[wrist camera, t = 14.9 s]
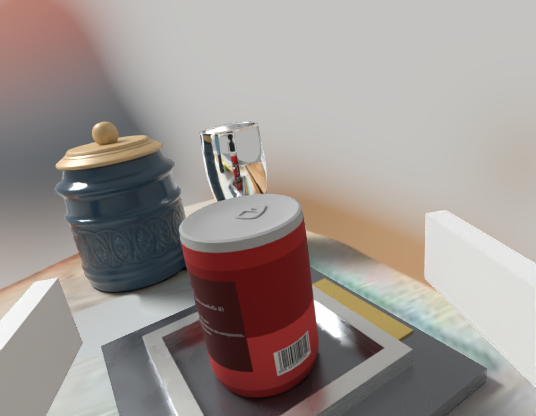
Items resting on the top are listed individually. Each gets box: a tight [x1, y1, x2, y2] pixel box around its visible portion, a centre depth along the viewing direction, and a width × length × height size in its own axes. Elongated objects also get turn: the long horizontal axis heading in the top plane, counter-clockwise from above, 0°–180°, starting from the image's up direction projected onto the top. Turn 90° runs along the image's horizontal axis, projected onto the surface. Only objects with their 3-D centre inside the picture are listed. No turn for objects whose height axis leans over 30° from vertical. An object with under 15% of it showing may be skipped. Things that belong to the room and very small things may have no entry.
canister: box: [55, 122, 186, 292], centre depth 43 cm, size 13×13×18 cm
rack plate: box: [101, 267, 487, 416], centre depth 27 cm, size 20×20×2 cm
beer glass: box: [200, 122, 267, 202], centre depth 44 cm, size 7×7×15 cm
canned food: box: [179, 194, 319, 397], centre depth 25 cm, size 8×8×11 cm
